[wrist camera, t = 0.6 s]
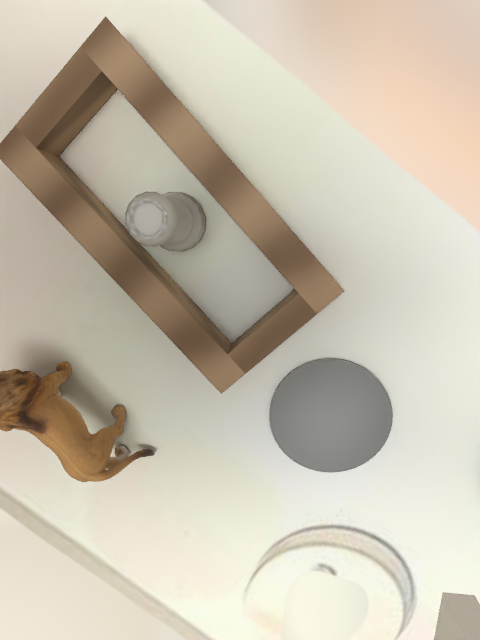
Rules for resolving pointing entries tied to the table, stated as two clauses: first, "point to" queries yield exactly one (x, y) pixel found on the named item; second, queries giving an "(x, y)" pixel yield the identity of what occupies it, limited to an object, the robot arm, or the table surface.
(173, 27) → the table surface
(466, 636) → the robot arm
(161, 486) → the table surface
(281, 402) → the pad
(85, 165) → the table surface
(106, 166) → the table surface
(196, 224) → the rook chess piece
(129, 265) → the slot holder
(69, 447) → the lion figurine
